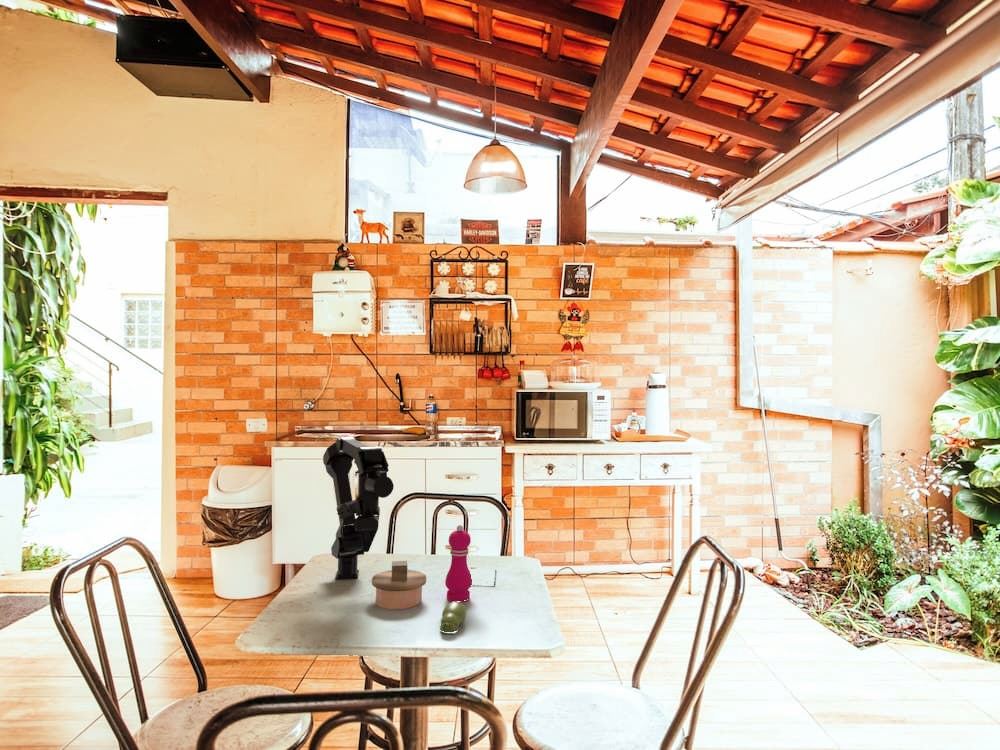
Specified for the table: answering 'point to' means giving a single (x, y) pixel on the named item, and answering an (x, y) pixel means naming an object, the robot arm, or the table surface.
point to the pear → (452, 616)
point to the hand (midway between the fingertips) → (367, 547)
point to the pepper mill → (459, 566)
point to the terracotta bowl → (398, 598)
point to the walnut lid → (399, 578)
